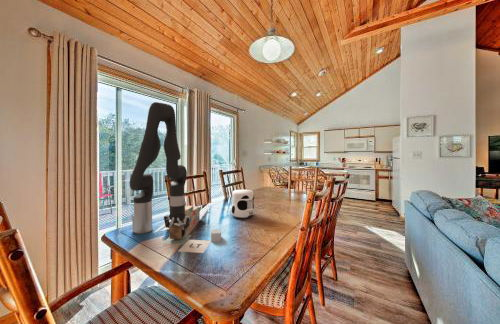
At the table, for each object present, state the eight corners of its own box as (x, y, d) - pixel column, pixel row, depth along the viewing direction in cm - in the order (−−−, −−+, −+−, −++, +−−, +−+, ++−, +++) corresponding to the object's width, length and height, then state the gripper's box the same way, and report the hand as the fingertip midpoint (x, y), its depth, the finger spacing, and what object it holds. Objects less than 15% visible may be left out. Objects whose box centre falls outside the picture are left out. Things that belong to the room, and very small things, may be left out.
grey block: (211, 243, 100) (211, 233, 100) (211, 238, 105) (211, 229, 104) (221, 242, 101) (221, 233, 100) (220, 238, 106) (220, 229, 105)
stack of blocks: (191, 219, 134) (191, 201, 133) (199, 219, 133) (199, 202, 132) (173, 231, 113) (173, 210, 112) (183, 232, 112) (183, 211, 111)
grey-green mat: (161, 244, 98) (161, 243, 98) (172, 234, 109) (172, 233, 108) (183, 245, 97) (183, 244, 97) (191, 236, 108) (191, 234, 107)
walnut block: (169, 238, 100) (169, 227, 100) (174, 234, 105) (174, 223, 105) (180, 239, 99) (180, 227, 99) (184, 234, 105) (184, 223, 105)
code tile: (178, 252, 90) (178, 251, 90) (188, 240, 102) (188, 239, 102) (203, 254, 89) (203, 252, 89) (211, 241, 101) (211, 240, 101)
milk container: (233, 211, 151) (234, 188, 150) (256, 213, 149) (256, 189, 148) (228, 219, 134) (228, 193, 133) (253, 221, 132) (253, 194, 131)
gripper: (160, 205, 98) (160, 237, 99) (187, 206, 97) (187, 239, 98) (167, 201, 106) (168, 231, 107) (193, 202, 105) (193, 233, 105)
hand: (177, 235), depth 102 cm, fingers closed on walnut block, 5 cm apart
